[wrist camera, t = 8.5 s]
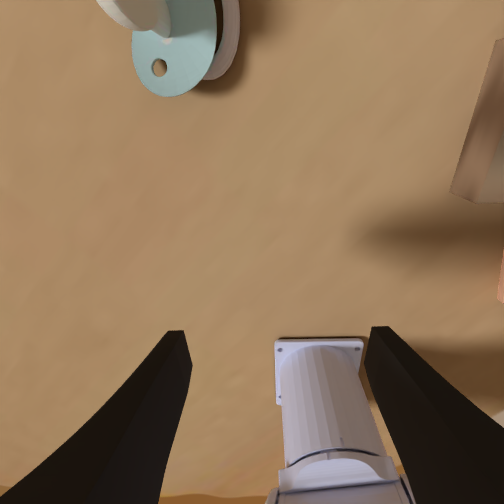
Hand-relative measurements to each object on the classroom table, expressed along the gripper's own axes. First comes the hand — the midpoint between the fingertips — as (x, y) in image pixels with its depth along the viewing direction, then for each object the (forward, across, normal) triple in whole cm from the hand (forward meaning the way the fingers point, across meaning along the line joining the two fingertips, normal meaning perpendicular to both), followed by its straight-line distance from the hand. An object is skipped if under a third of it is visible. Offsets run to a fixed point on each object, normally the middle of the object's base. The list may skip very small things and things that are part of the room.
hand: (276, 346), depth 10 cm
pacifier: (+11, +4, -13) cm, 17 cm away
